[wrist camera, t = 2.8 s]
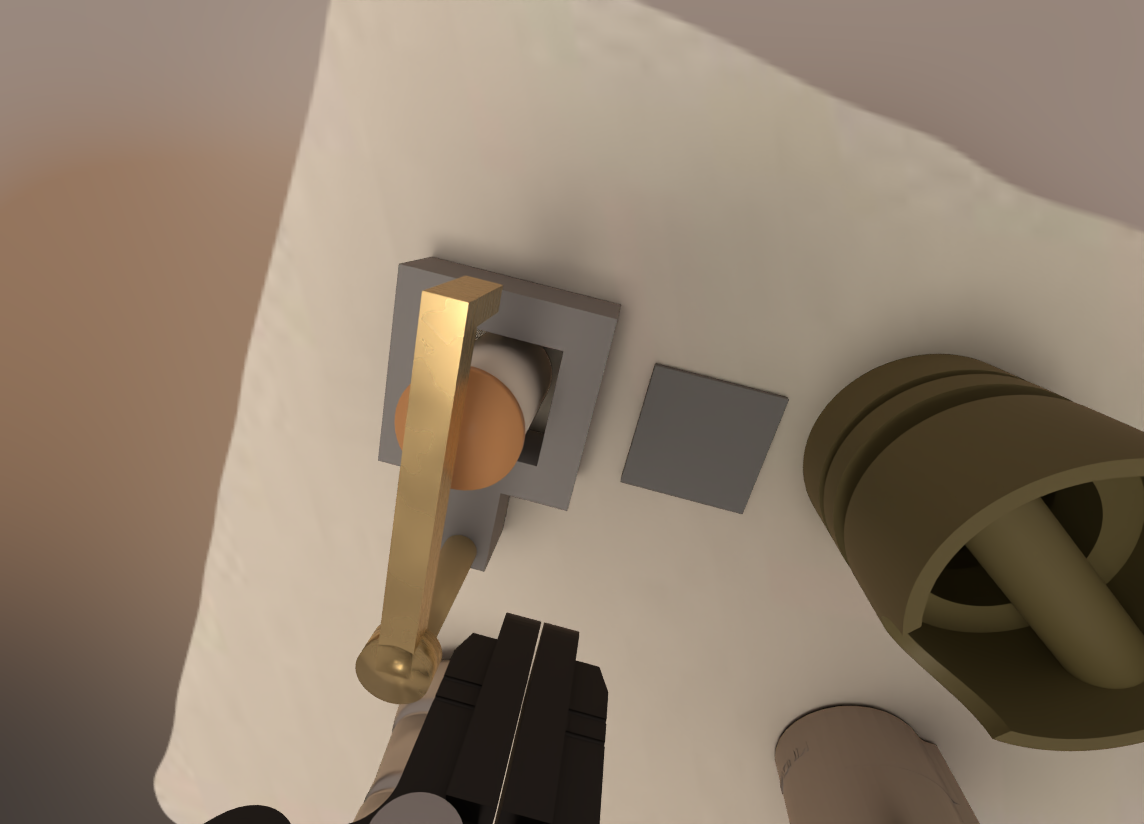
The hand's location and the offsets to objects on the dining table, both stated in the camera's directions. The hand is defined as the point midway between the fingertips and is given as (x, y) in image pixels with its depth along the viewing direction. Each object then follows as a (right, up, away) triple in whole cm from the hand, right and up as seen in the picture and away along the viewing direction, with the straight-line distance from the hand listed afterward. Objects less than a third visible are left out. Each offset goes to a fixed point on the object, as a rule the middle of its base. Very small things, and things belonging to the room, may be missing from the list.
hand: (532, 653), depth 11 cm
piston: (+19, +2, +18) cm, 26 cm away
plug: (-3, +7, +18) cm, 20 cm away
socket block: (-3, +5, +19) cm, 20 cm away
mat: (+8, +3, +18) cm, 20 cm away
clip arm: (-4, +2, +12) cm, 12 cm away
